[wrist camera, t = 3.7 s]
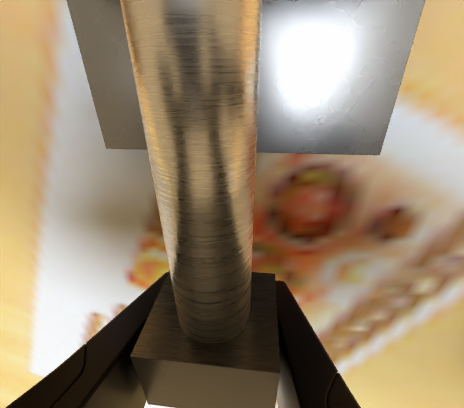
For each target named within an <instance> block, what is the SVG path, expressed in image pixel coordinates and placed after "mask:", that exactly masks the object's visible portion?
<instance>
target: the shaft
mask: <svg viewBox="0 0 464 408" xmlns="http://www.w3.org/2000/svg"><path fill="white" fill-rule="evenodd" d="M120 2H121V7H122V13H123V18H124V24H125V29H126V35H127V40H128V46H129V51H130V56H131V62H132V67H133V73H134V78H135V84H136V89H137V95H138V100H139V106H140V111H141V117H142V122H143V128H144V133H145V138H146V144H147V149H148V155H149V160H150V166H151V171H152V177H153V182H154V188H155V193H156V199H157V204H158V209H159V215H160V220H161V226H162V231H163V237H164V242H165V248H166V253H167V259H168V264H169V272H168V274H167V277H166V279H165V281H164V283H163V285H162V288H161V290H160V292H159V294H158V296H157V299H156V301H155V303H154V305H153V307H152V309H151V312H150V314H149V316H148V318H147V320H146V323H145V325H144V327H143V329H142V331H141V334H140V336H139V338H138V340H137V342H136V345H135V347H134V349H133V351H132V353H131V356H130V357H131V360H132V363H133V365H134V368H135V371H136V373H137V376H138V378H139V381H140V384H141V386H142V389H143V392H144V394H145V397H146V400H147V402H148V404H152V405H159V406H167V407H174V408H275V403H276V397H277V391H278V385H279V379H280V357H279V338H278V320H277V301H276V282H275V274H270V273H256V272H251V270H252V245H253V220H254V194H255V169H256V144H257V119H258V94H259V69H260V44H261V18H262V0H120Z"/></svg>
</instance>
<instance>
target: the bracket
mask: <svg viewBox="0 0 464 408" xmlns="http://www.w3.org/2000/svg"><path fill="white" fill-rule="evenodd" d="M67 3H68V7H69V10H70V14H71V18H72V22H73V25H74V29H75V33H76V37H77V40H78V44H79V48H80V52H81V55H82V59H83V63H84V67H85V70H86V74H87V78H88V82H89V85H90V89H91V93H92V97H93V100H94V104H95V108H96V112H97V115H98V119H99V123H100V127H101V130H102V134H103V138H104V142H105V145H106V148H111V149H147V144H146V138H145V133H144V128H143V122H142V117H141V111H140V106H139V100H138V95H137V89H136V84H135V78H134V73H133V67H132V62H131V56H130V51H129V46H128V40H127V35H126V29H125V24H124V18H123V13H122V7H121V2H120V0H67ZM424 3H425V0H262V18H261V44H260V69H259V94H258V119H257V144H256V152H270V153H309V154H349V155H380V152H381V149H382V145H383V142H384V138H385V135H386V132H387V128H388V125H389V121H390V118H391V115H392V111H393V108H394V105H395V101H396V98H397V94H398V91H399V88H400V84H401V81H402V77H403V74H404V71H405V67H406V64H407V61H408V57H409V54H410V50H411V47H412V44H413V40H414V37H415V34H416V30H417V27H418V23H419V20H420V17H421V13H422V10H423V6H424Z"/></svg>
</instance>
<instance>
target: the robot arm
mask: <svg viewBox="0 0 464 408" xmlns="http://www.w3.org/2000/svg"><path fill="white" fill-rule="evenodd" d="M167 274H168V272H167V273H165V274H164V275H163V276H162V277H160V278H159V279H158V280H157V281H156V282H155V283H154V284H152V285H151V286H150V287H149V288H148V289H147V290H146V291H145V292H143V293H142V294H141V295H140V296H139V297H138V298H137V299H135V300H134V301H133V302H132V303H131V304H130V305H129V306H127V307H126V308H125V309H124V310H123V311H122V312H121V313H119V314H118V315H117V316H116V317H115V318H114V319H113V320H112V321H110V322H109V323H108V324H107V325H106V326H105V327H104V328H102V329H101V330H100V331H99V332H98V333H97V334H96V335H94V336H93V337H92V338H91V339H90V340H89V341H88V342H87V343H86V344H84V345H83V346H82V347H81V348H80V349H78V350H77V351H76V352H75V353H74V354H73V355H71V356H70V357H69V358H68V359H67V360H66V361H64V362H63V363H62V364H61V365H60V366H59V367H57V368H56V369H55V370H54V371H52V372H51V373H50V374H49V375H47V376H46V377H45V378H43V379H42V380H41V381H40V382H38V383H37V384H36V385H35V386H33V387H32V388H31V389H29V390H28V391H27V392H25V393H24V394H23V395H21V396H20V397H19V398H17V399H16V400H15V401H14V402H12V403H11V404H10V405H8V406H7V407H6V408H144V406H145V403H146V397H145V394H144V392H143V389H142V386H141V384H140V381H139V378H138V376H137V373H136V371H135V368H134V365H133V363H132V360H131V357H130V356H131V353H132V351H133V349H134V347H135V345H136V342H137V340H138V338H139V336H140V334H141V331H142V329H143V327H144V325H145V323H146V320H147V318H148V316H149V314H150V312H151V309H152V307H153V305H154V303H155V301H156V299H157V296H158V294H159V292H160V290H161V288H162V285H163V283H164V281H165V279H166V277H167ZM275 282H276V301H277V320H278V338H279V357H280V379H279V385H278V391H277V402H278V408H361V407H360V406H359V404H358V403H357V401H356V400H355V398H354V396H353V395H352V393H351V392H350V390H349V388H348V387H347V385H346V383H345V382H344V380H343V378H342V377H341V375H340V374H339V373H337V372H338V370H337V369H336V367H335V365H334V364H333V362H332V360H331V359H330V357H329V355H328V354H327V352H326V350H325V349H324V347H323V345H322V344H321V342H320V340H319V338H318V337H317V335H316V333H315V332H314V330H313V328H312V327H311V325H310V323H309V322H308V320H307V318H306V317H305V315H304V313H303V312H302V310H301V308H300V307H299V305H298V303H297V302H296V300H295V298H294V297H293V295H292V293H291V292H290V290H289V288H288V287H287V285H286V283H285V282H284V281H276V280H275Z"/></svg>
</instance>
